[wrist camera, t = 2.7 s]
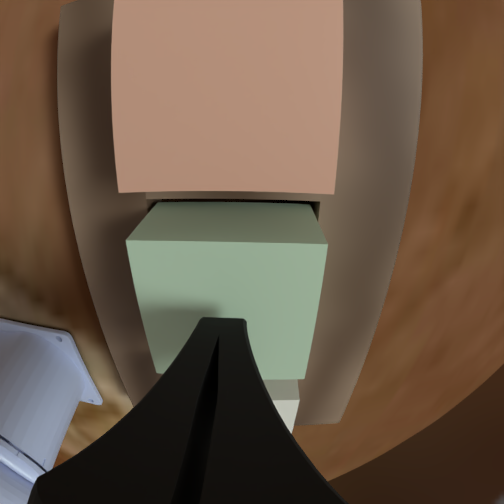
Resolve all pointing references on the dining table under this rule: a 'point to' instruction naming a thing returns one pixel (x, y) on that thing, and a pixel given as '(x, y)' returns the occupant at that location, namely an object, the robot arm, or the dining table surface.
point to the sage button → (230, 277)
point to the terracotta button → (227, 95)
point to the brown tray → (323, 205)
